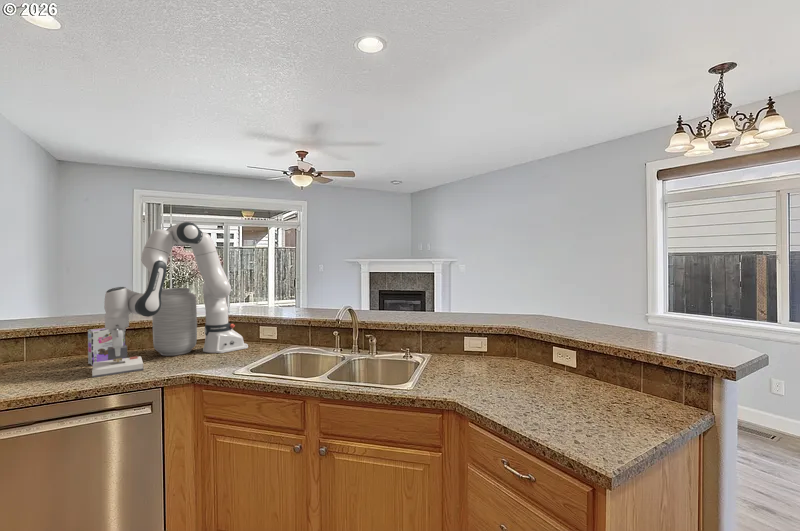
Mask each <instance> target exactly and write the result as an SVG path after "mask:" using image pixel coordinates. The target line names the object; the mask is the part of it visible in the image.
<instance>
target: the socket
mask: <svg viewBox="0 0 800 531" xmlns="http://www.w3.org/2000/svg"><path fill="white" fill-rule="evenodd" d="M140 371H144V362H143V359H142V356H138V355H137V356H130V357H126V358H123V359H122V361H119V362H116V361H114V362H113V360H108V361H100V362H93V366H92V369H91V374H92V375H91V377H92V379H93V378H100V377H106V376H113V375H120V374H127V373H134V372H140Z"/></svg>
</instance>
